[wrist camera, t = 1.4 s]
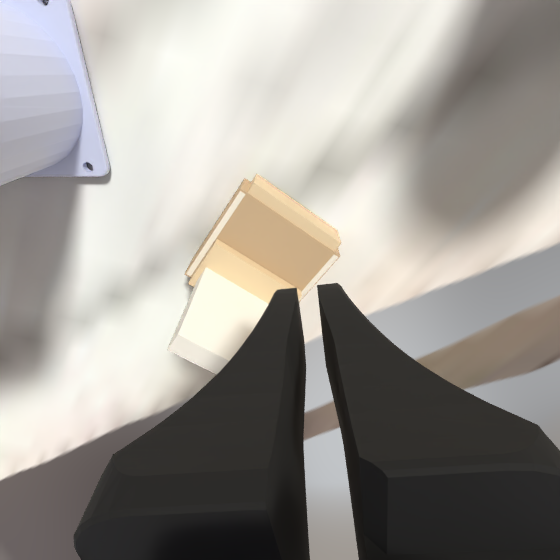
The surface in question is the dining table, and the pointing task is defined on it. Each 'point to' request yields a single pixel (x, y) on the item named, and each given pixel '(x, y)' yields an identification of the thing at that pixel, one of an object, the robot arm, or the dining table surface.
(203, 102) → the dining table surface
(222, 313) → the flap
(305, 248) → the carton
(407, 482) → the robot arm
